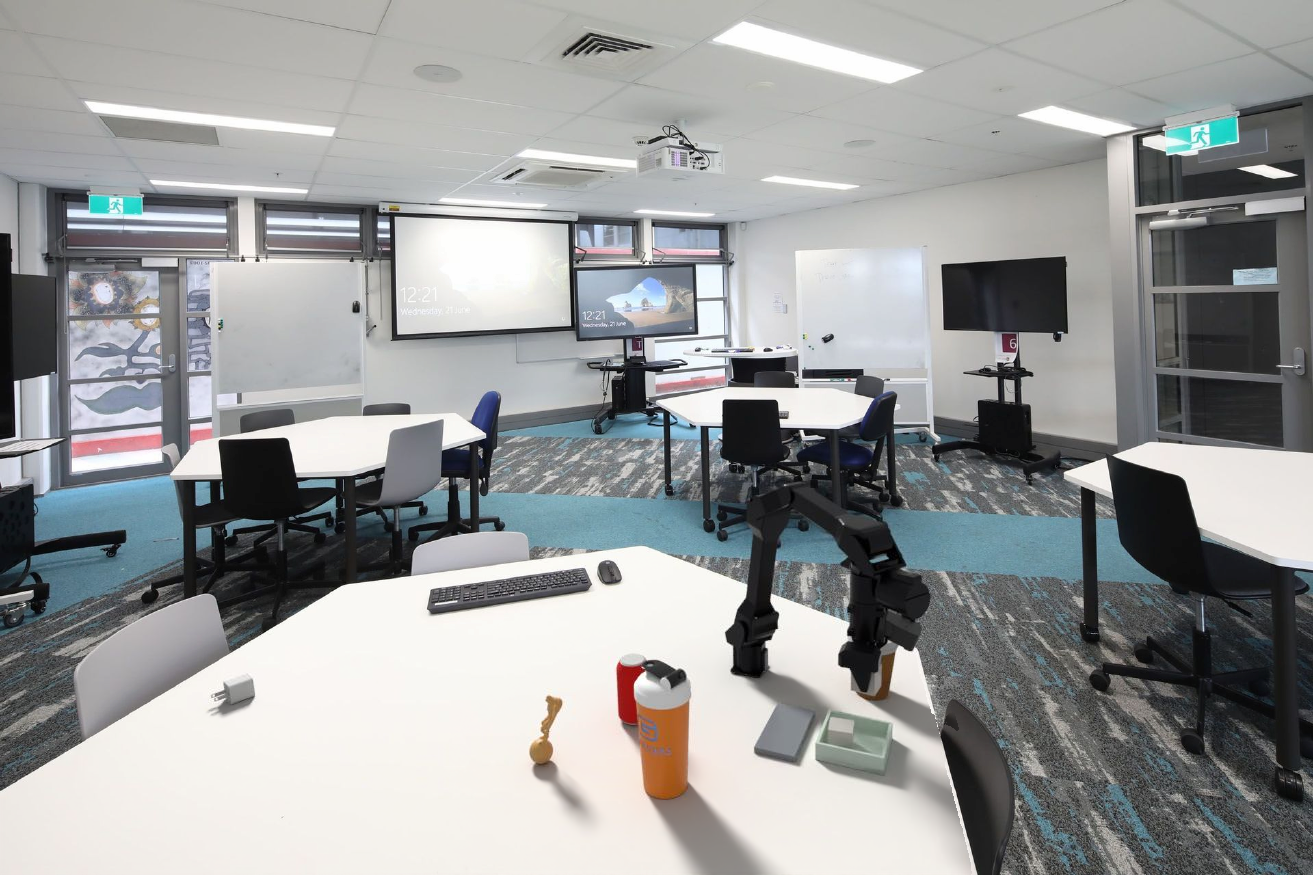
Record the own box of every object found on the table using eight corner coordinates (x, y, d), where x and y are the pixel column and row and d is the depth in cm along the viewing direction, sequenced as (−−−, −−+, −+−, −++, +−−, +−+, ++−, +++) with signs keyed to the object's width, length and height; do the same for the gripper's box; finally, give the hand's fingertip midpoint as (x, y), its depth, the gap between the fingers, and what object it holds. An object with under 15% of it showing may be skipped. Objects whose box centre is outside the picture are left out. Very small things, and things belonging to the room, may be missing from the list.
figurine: (532, 747, 123) (528, 684, 121) (566, 745, 124) (563, 681, 122) (527, 778, 115) (523, 710, 113) (564, 774, 116) (560, 707, 114)
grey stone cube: (850, 690, 119) (851, 668, 118) (858, 679, 122) (858, 658, 122) (874, 696, 117) (874, 673, 116) (881, 685, 120) (881, 663, 120)
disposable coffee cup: (900, 706, 133) (902, 647, 131) (848, 702, 134) (849, 644, 132) (894, 681, 142) (895, 625, 140) (845, 678, 144) (846, 622, 142)
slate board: (754, 752, 120) (753, 746, 120) (777, 707, 133) (777, 702, 133) (794, 761, 117) (794, 756, 117) (814, 715, 130) (814, 710, 130)
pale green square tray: (815, 759, 118) (815, 742, 117) (828, 724, 127) (828, 709, 127) (883, 775, 113) (884, 758, 113) (892, 738, 123) (892, 722, 122)
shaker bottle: (658, 760, 119) (654, 649, 115) (703, 778, 114) (701, 663, 110) (626, 790, 111) (621, 673, 108) (673, 811, 106) (670, 688, 103)
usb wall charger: (255, 696, 144) (252, 678, 143) (217, 711, 139) (214, 692, 138) (248, 690, 146) (246, 672, 146) (211, 703, 141) (208, 685, 141)
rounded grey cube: (827, 751, 118) (827, 729, 118) (830, 737, 122) (830, 716, 121) (852, 755, 117) (852, 733, 116) (854, 741, 121) (854, 720, 120)
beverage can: (655, 712, 133) (653, 653, 131) (644, 730, 127) (642, 669, 125) (625, 707, 135) (623, 649, 133) (613, 725, 129) (610, 664, 127)
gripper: (913, 628, 105) (910, 723, 108) (923, 584, 122) (921, 668, 124) (837, 617, 110) (836, 709, 113) (857, 576, 127) (856, 658, 129)
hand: (866, 685), depth 120 cm, fingers closed on grey stone cube, 4 cm apart
